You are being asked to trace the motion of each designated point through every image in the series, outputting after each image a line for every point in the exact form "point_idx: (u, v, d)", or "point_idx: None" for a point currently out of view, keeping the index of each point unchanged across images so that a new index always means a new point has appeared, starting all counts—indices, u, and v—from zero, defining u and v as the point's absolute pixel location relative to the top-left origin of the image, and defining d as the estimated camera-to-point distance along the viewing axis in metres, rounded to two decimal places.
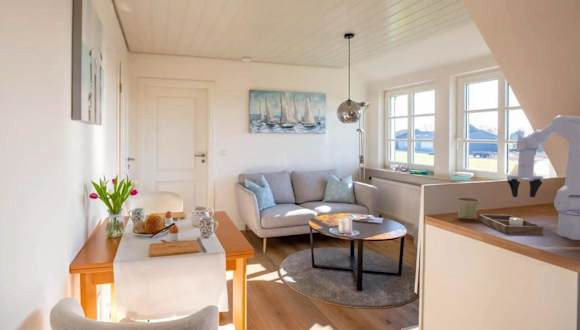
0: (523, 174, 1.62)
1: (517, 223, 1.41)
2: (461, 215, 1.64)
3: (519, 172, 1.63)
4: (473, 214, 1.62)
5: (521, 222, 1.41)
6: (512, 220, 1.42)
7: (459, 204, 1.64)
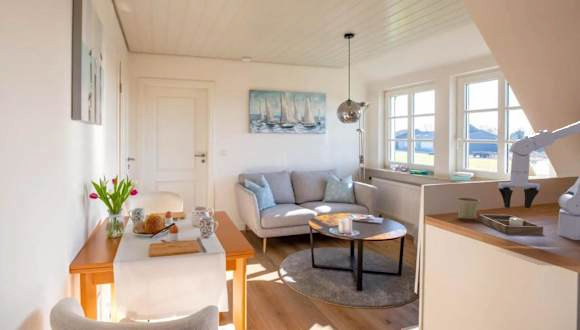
0: (516, 181, 1.40)
1: (517, 223, 1.41)
2: (461, 215, 1.64)
3: (512, 179, 1.41)
4: (473, 214, 1.62)
5: (521, 222, 1.41)
6: (512, 220, 1.42)
7: (459, 204, 1.64)
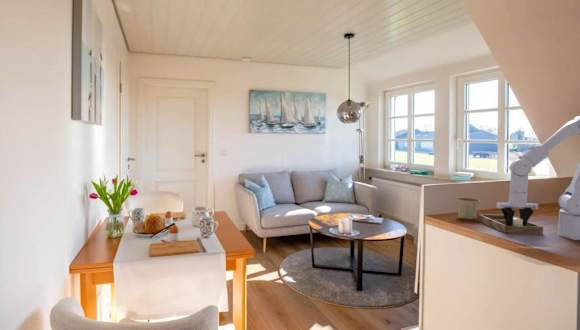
0: (515, 202, 1.41)
1: (517, 223, 1.41)
2: (461, 215, 1.64)
3: (510, 199, 1.42)
4: (473, 214, 1.62)
5: (521, 222, 1.41)
6: None
7: (459, 204, 1.64)
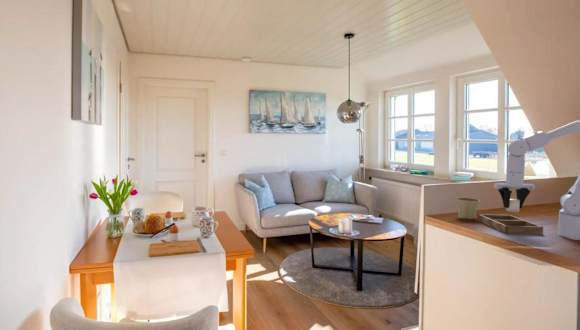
0: (512, 182, 1.43)
1: (514, 203, 1.43)
2: (461, 215, 1.64)
3: (508, 180, 1.44)
4: (473, 214, 1.62)
5: (518, 202, 1.43)
6: (509, 201, 1.44)
7: (459, 204, 1.64)
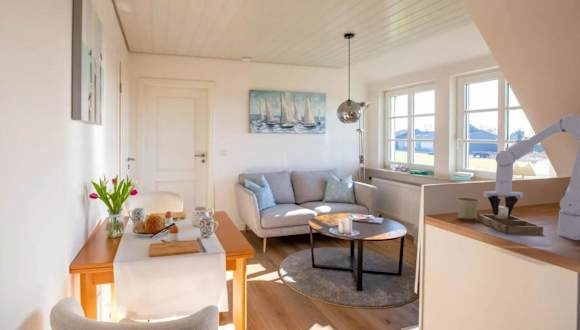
0: (501, 190, 1.50)
1: (503, 211, 1.50)
2: (461, 216, 1.64)
3: (497, 188, 1.52)
4: (473, 214, 1.62)
5: (506, 210, 1.51)
6: (498, 208, 1.52)
7: (459, 204, 1.64)
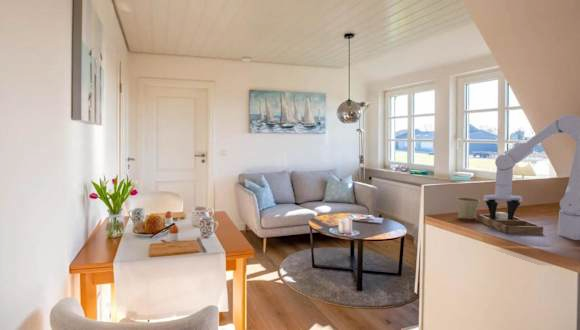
0: (500, 194, 1.50)
1: (502, 217, 1.51)
2: (461, 216, 1.64)
3: (496, 192, 1.52)
4: (473, 214, 1.62)
5: (506, 216, 1.51)
6: (498, 214, 1.52)
7: (459, 204, 1.64)
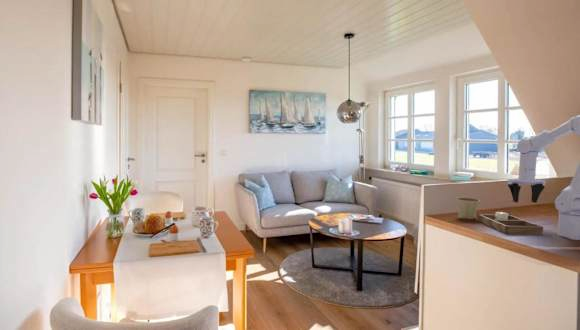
0: (524, 178, 1.53)
1: (502, 217, 1.51)
2: (461, 216, 1.64)
3: (520, 176, 1.54)
4: (473, 214, 1.62)
5: (506, 216, 1.51)
6: (498, 214, 1.52)
7: (459, 204, 1.64)
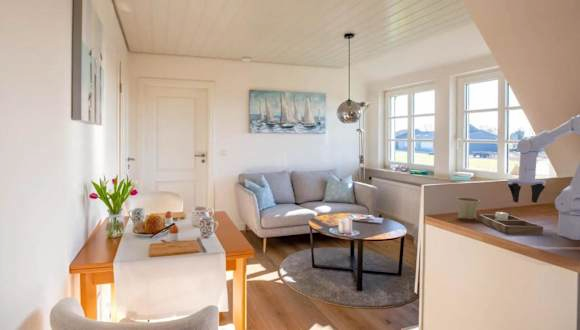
0: (524, 178, 1.53)
1: (502, 217, 1.51)
2: (461, 215, 1.64)
3: (520, 176, 1.54)
4: (473, 214, 1.62)
5: (506, 216, 1.51)
6: (498, 214, 1.52)
7: (459, 204, 1.64)
